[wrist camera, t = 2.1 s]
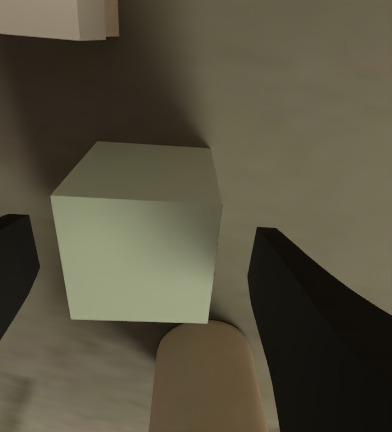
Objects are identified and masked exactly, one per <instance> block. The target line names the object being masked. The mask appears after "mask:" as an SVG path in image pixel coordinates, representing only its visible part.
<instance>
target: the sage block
mask: <svg viewBox="0 0 392 432" xmlns="http://www.w3.org/2000/svg"><path fill="white" fill-rule="evenodd" d="M50 197H51V203H52V209H53V215H54V221H55V227H56V233H57V239H58V245H59V251H60V257H61V263H62V269H63V275H64V281H65V286H66V292H67V298H68V304H69V310H70V316H71V319H78V320H110V321H141V322H173V323H205V324H208V316H209V308H210V300H211V292H212V284H213V276H214V268H215V261H216V253H217V245H218V237H219V229H220V221H221V213H222V205H223V204H222V200H221V195H220V190H219V186H218V181H217V176H216V171H215V167H214V162H213V157H212V152H211V148H197V147H181V146H165V145H150V144H134V143H118V142H102V141H97V142H96V143H95V144H94V145H93V147H92V148H91V149H90V150H89V151H88V152H87V154H86V155H85V156H84V157H83V158H82V159H81V160H80V162H79V163H78V164H77V165H76V166H75V167H74V169H73V170H72V171H71V172H70V173H69V174H68V176H67V177H66V178H65V179H64V180H63V181H62V182H61V184H60V185H59V186H58V187H57V188H56V189H55V191H54V192H53V193H52V194H51V195H50Z"/></svg>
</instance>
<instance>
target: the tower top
mask: <svg viewBox="0 0 392 432" xmlns="http://www.w3.org/2000/svg"><path fill="white" fill-rule="evenodd" d="M0 34H9V35H21V36H32V37H43V38H54V39H65V40H76V41H88V40H106V31H105V11H104V0H0Z"/></svg>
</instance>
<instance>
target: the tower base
mask: <svg viewBox="0 0 392 432" xmlns="http://www.w3.org/2000/svg"><path fill="white" fill-rule="evenodd" d="M104 11H105V31H106V37H119V20H118V0H104Z"/></svg>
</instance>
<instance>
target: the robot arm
mask: <svg viewBox="0 0 392 432" xmlns="http://www.w3.org/2000/svg"><path fill="white" fill-rule="evenodd" d="M39 268H40V264H39V260H38V255H37V250H36V246H35V241H34V236H33V232H32V227H31V222H30V217H29V215H20V214H7V215H4V216H2V217H0V340H1V338H2V337H3V335H4V333H5V332H6V330H7V329H8V327H9V325H10V324H11V322H12V321H13V319H14V317H15V316H16V314H17V313H18V311H19V309H20V308H21V306H22V304H23V303H24V301H25V299H26V298H27V296H28V294H29V292H30V290H31V287H32V285H33V283H34V281H35V278H36V276H37V273H38V271H39ZM247 277H248V285H249V293H250V300H251V305H252V309H253V313H254V316H255V320H256V324H257V328H258V331H259V335H260V338H261V342H262V345H263V349H264V353H265V356H266V360H267V364H268V367H269V371H270V376H271V380H272V385H273V391H274V397H275V403H276V408H277V414H278V420H279V427H280V432H392V315H390V314H388V313H387V312H385V311H383V310H382V309H380V308H378V307H377V306H375V305H374V304H372V303H371V302H369V301H368V300H366V299H364V298H363V297H361V296H360V295H358V294H357V293H355V292H354V291H353V290H351V289H350V288H348V287H347V286H345V285H344V284H343V283H341V282H340V281H339V280H338V279H336V278H335V277H334V276H332V275H331V274H330V273H328V272H327V271H326V270H325V269H323V268H322V267H321V266H320V265H318V264H317V263H316V262H315V261H314V260H312V259H311V258H310V257H309V256H308V255H307V254H305V253H304V252H303V251H302V250H301V249H300V248H299V247H297V246H296V245H295V244H294V243H293V242H292V241H291V240H289V239H288V238H287V237H286V236H285V235H284V234H283V233H281V232H280V231H279V230H278V229H276V228H266V227H257V230H256V235H255V240H254V245H253V250H252V255H251V260H250V266H249V271H248V276H247Z"/></svg>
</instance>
